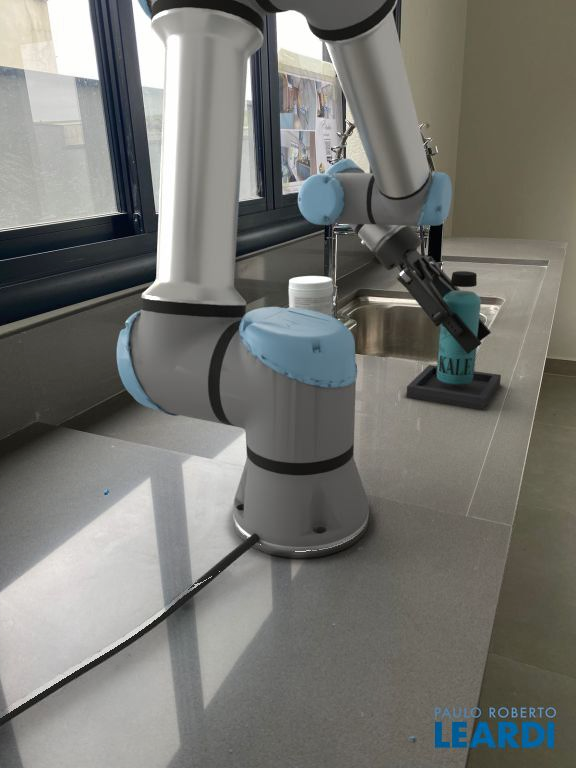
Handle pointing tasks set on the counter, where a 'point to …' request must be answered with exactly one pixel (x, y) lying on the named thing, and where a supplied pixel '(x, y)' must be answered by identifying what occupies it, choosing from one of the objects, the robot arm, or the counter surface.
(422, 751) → the counter surface
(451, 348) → the beverage bottle
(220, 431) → the counter surface
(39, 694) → the robot arm
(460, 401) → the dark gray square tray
